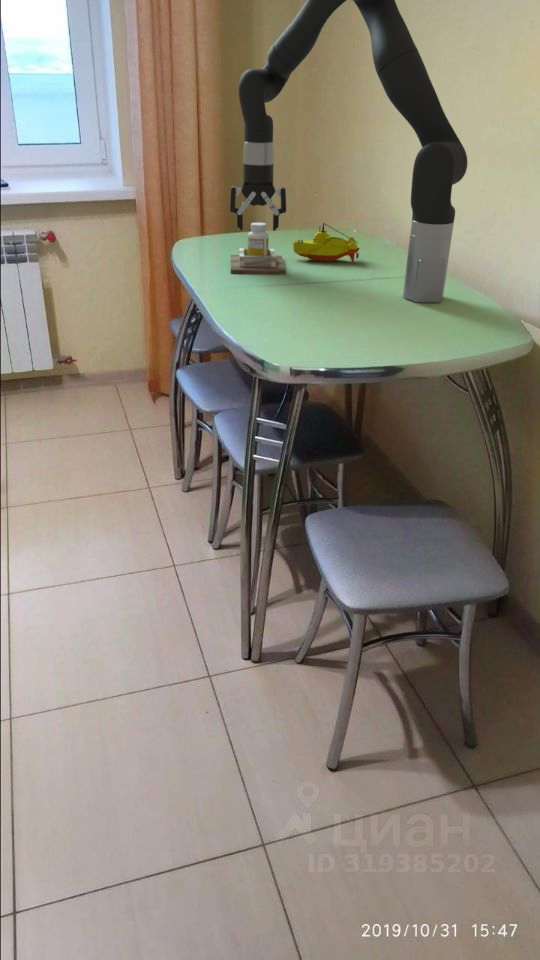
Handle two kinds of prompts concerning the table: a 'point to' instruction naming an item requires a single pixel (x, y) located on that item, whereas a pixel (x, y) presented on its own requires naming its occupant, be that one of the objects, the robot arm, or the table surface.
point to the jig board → (257, 263)
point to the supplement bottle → (258, 240)
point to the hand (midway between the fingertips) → (257, 229)
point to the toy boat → (326, 247)
